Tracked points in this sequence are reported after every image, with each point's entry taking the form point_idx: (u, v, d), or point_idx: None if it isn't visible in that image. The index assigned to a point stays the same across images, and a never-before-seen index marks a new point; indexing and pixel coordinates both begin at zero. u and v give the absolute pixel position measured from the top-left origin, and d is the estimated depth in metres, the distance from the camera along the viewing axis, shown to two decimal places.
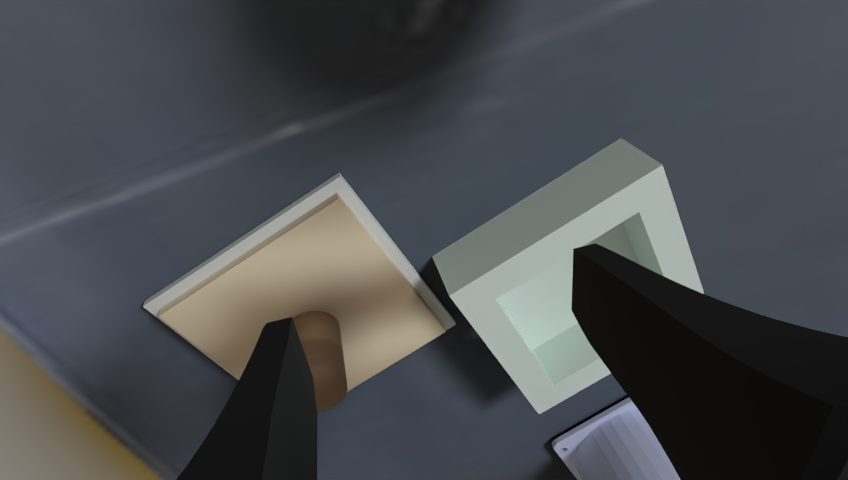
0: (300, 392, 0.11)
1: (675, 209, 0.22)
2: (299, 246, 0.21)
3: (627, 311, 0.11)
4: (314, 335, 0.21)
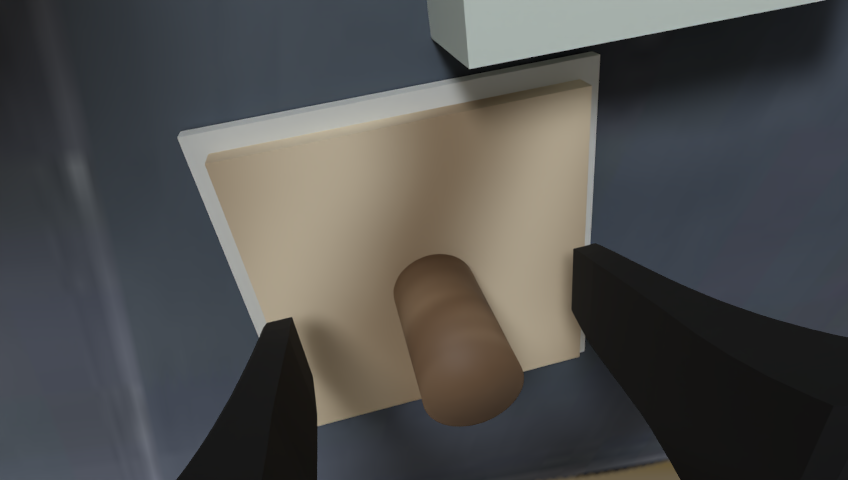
0: (300, 392, 0.11)
1: None
2: (274, 251, 0.13)
3: (627, 311, 0.11)
4: (408, 318, 0.12)
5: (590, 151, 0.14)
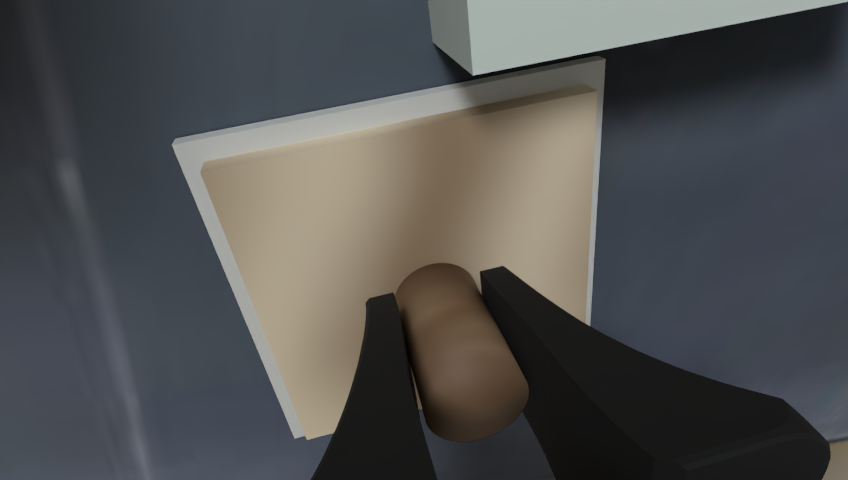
0: (409, 364, 0.12)
1: None
2: (272, 260, 0.12)
3: (519, 339, 0.11)
4: (409, 330, 0.12)
5: (595, 157, 0.14)
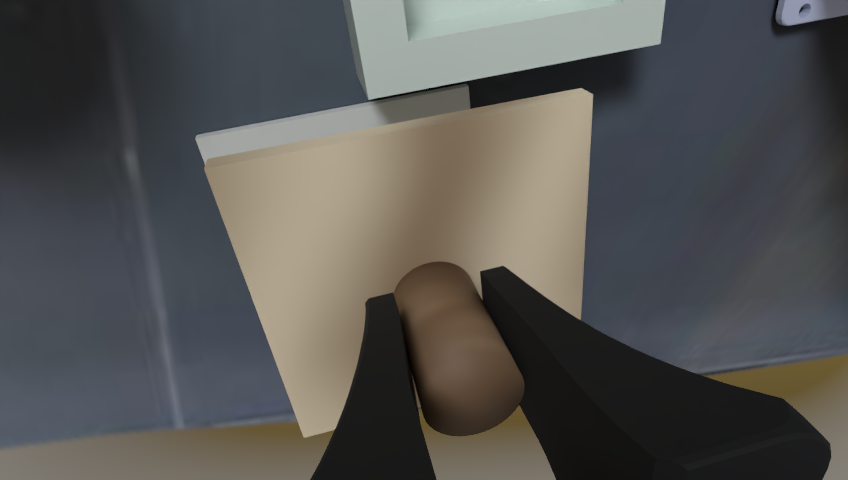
0: (408, 364, 0.12)
1: None
2: (273, 257, 0.13)
3: (519, 339, 0.11)
4: (407, 326, 0.12)
5: None
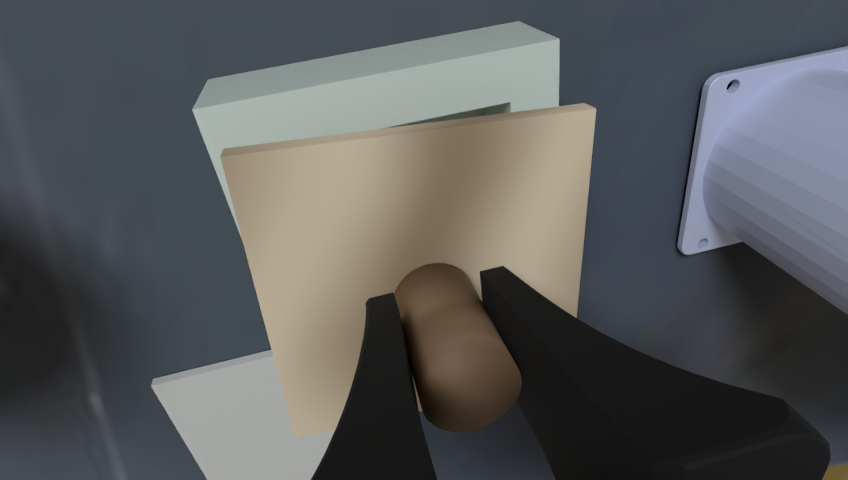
0: (408, 364, 0.12)
1: (288, 93, 0.14)
2: (279, 249, 0.13)
3: (519, 339, 0.11)
4: (408, 322, 0.12)
5: None
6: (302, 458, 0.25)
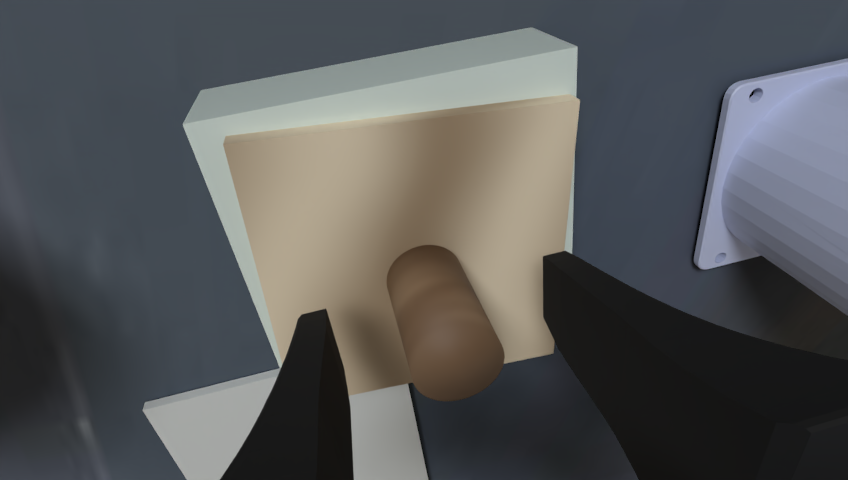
0: (337, 382, 0.11)
1: (286, 106, 0.13)
2: (279, 231, 0.14)
3: (592, 320, 0.11)
4: (400, 301, 0.13)
5: (405, 388, 0.22)
6: None
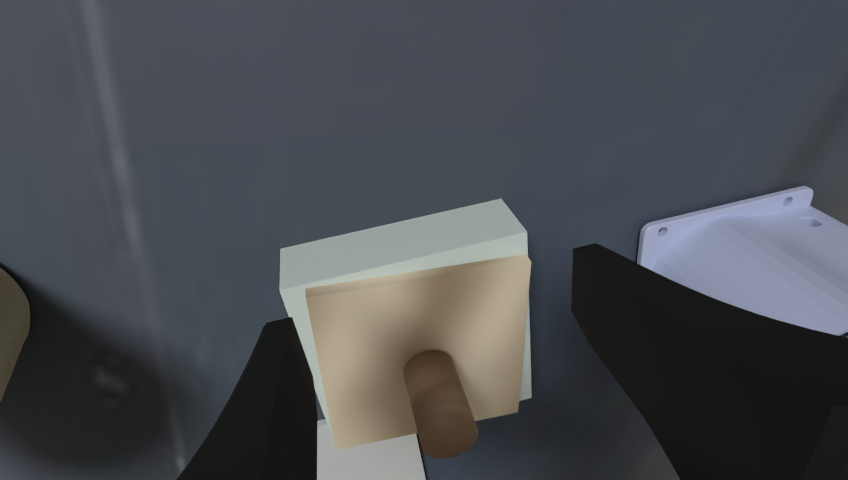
0: (300, 392, 0.11)
1: (343, 276, 0.20)
2: (335, 343, 0.21)
3: (627, 311, 0.11)
4: (414, 392, 0.21)
5: None
6: None
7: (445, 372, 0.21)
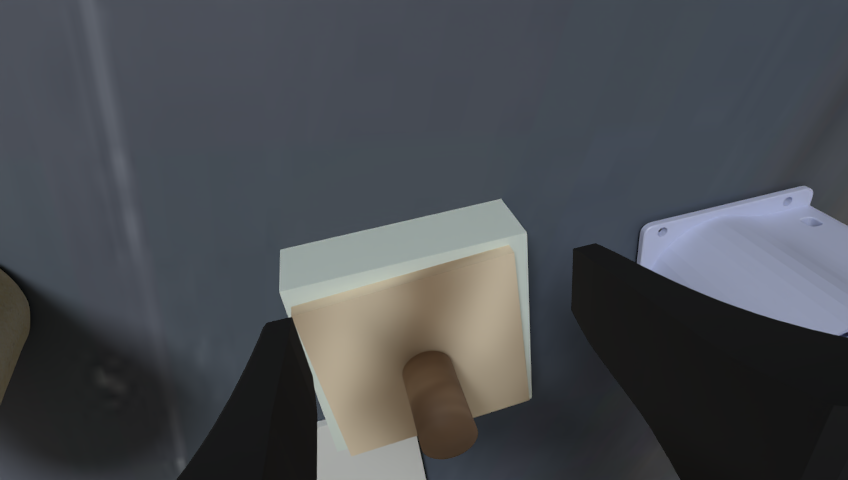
0: (300, 392, 0.11)
1: (343, 277, 0.20)
2: (329, 356, 0.21)
3: (627, 311, 0.11)
4: (411, 395, 0.21)
5: None
6: None
7: (441, 372, 0.21)
